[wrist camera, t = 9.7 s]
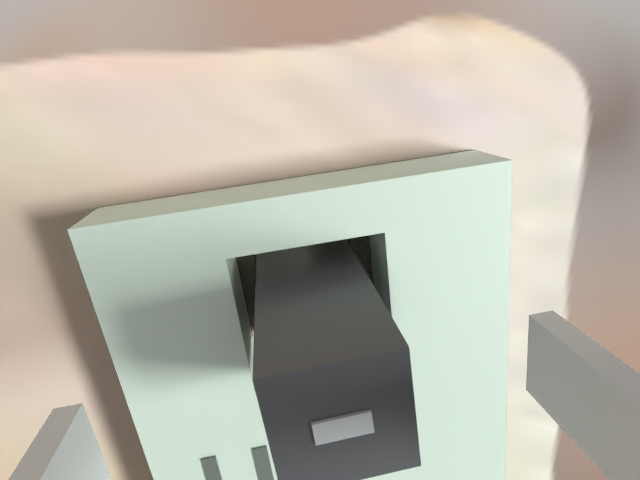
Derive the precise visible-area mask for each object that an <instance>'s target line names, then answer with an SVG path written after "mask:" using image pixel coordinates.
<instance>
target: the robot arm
mask: <svg viewBox="0 0 640 480" xmlns="http://www.w3.org/2000/svg"><path fill="white" fill-rule="evenodd" d="M526 390H527V391H528V392H529V393H530V394H531V395H532V396H533V397H534V399H535V400H536V401H537V402H538V403H539V404H540V405H541V406H542V407H543V408H544V409H545V410H546V412H547V413H548V414H549V415H550V416H551V417H552V418H553V419H554V420H555V421H556V422H557V424H558V425H559V426H560V427H561V428H562V429H563V430H564V431H565V432H566V433H567V434H568V435H569V436H570V437H571V439H572V440H573V441H574V442H575V443H576V444H577V445H578V446H579V447H580V449H581V450H582V451H583V452H584V453H585V454H586V455H587V456H588V457H589V458H590V459H591V461H592V462H593V463H594V464H595V465H596V466H597V467H598V468H599V469H600V470H601V471H602V472H603V474H604V475H605V476H606V477H607V478H608V479H609V480H640V374H639V373H638V372H636V371H635V370H633V369H632V368H631V367H629V366H628V365H627V364H625V363H624V362H622V361H621V360H620V359H618V358H617V357H616V356H614V355H613V354H612V353H610V352H609V351H607V350H606V349H605V348H603V347H602V346H600V345H599V344H598V343H596V342H595V341H594V340H592V339H591V338H590V337H588V336H587V335H585V334H584V333H582V332H581V331H580V330H579V329H577V328H576V327H574V326H573V325H572V324H570V323H569V322H568V321H566V320H565V319H563V318H562V317H561V316H559V315H558V314H557V313H555V312H554V311H548V312H543V313H538V314H533V315H529V331H528V356H527V381H526ZM9 480H111V476H110V473H109V471H108V468H107V466H106V463H105V460H104V458H103V455H102V453H101V450H100V448H99V445H98V442H97V440H96V437H95V435H94V432H93V429H92V427H91V424H90V422H89V419H88V417H87V414H86V411H85V409H84V406H83V404H82V403H81V404H76V405H71V406H66V407H61V408H56V409H53V410H52V412H51V414H50V415H49V417H48V418H47V420H46V421H45V423H44V425H43V426H42V428H41V429H40V431H39V432H38V434H37V436H36V437H35V439H34V440H33V442H32V444H31V445H30V447H29V448H28V450H27V451H26V453H25V455H24V456H23V458H22V459H21V461H20V462H19V464H18V466H17V467H16V469H15V470H14V472H13V473H12V475H11V477H10V478H9Z"/></svg>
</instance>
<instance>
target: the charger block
mask: <svg viewBox="0 0 640 480" xmlns="http://www.w3.org/2000/svg"><path fill="white" fill-rule="evenodd" d="M252 380H253V384H254V388H255V392H256V396H257V400H258V404H259V408H260V412H261V416H262V420H263V424H264V428H265V431H266V435H267V439H268V443H269V447H270V451H271V455H272V459H273V463H274V467H275V471H276V475H277V479H278V480H362V479H367V478H371V477H375V476H380V475H384V474H388V473H393V472H397V471H401V470H406V469H410V468H414V467H419V466H421V458H420V448H419V439H418V429H417V419H416V409H415V399H414V389H413V380H412V370H411V360H410V350H409V346H408V344H407V342H406V341H405V339H404V337H403V335H402V334H401V332H400V330H399V328H398V327H397V325H396V323H395V321H394V320H393V318H392V316H391V315H390V313H389V311H388V309H387V308H386V306H385V304H384V302H383V301H382V299H381V297H380V296H379V294H378V292H377V290H376V289H375V287H374V285H373V283H372V282H371V280H370V278H369V277H368V275H367V273H366V271H365V270H364V268H363V266H362V264H361V263H360V261H359V259H358V258H357V256H356V254H355V252H354V251H353V249H352V247H351V245H350V244H349V242H348V240H347V239H344V240H338V241H331V242H325V243H319V244H313V245H307V246H301V247H295V248H289V249H283V250H277V251H271V252H265V253H259V254H257V257H256V287H255V317H254V348H253V378H252Z"/></svg>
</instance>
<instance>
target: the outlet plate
mask: <svg viewBox="0 0 640 480" xmlns="http://www.w3.org/2000/svg"><path fill="white" fill-rule="evenodd" d="M511 188H512V160H510V159H506V158H503V157H499V156H495V155H492V154H488V153H484V152H481V151H477V150H470V151H464V152H457V153H451V154H444V155H438V156H431V157H425V158H418V159H412V160H405V161H399V162H392V163H386V164H379V165H373V166H366V167H360V168H353V169H347V170H340V171H334V172H327V173H321V174H314V175H308V176H301V177H294V178H288V179H281V180H275V181H268V182H262V183H255V184H249V185H242V186H236V187H229V188H223V189H216V190H210V191H203V192H197V193H190V194H184V195H177V196H171V197H164V198H158V199H151V200H145V201H138V202H132V203H125V204H119V205H112V206H106V207H99V208H97V209H96V210H94V211H93V212H91V213H90V214H89V215H87V216H86V217H84V218H83V219H82V220H80V221H79V222H77V223H76V224H75V225H73V226H72V227H70V228H69V229H67V231H68V234H69V236H70V239H71V242H72V245H73V248H74V251H75V254H76V257H77V260H78V262H79V265H80V268H81V271H82V274H83V277H84V280H85V283H86V286H87V289H88V291H89V294H90V297H91V300H92V303H93V306H94V309H95V312H96V315H97V317H98V320H99V323H100V326H101V329H102V332H103V335H104V338H105V341H106V344H107V346H108V349H109V352H110V355H111V358H112V361H113V364H114V367H115V370H116V372H117V375H118V378H119V381H120V384H121V387H122V390H123V393H124V396H125V399H126V401H127V404H128V407H129V410H130V413H131V416H132V419H133V422H134V425H135V427H136V430H137V433H138V436H139V439H140V442H141V445H142V448H143V451H144V454H145V456H146V459H147V462H148V465H149V468H150V471H151V474H152V477H153V480H278V479H277V475H276V471H275V467H274V463H273V459H272V455H271V451H270V447H269V443H268V439H267V435H266V431H265V428H264V424H263V420H262V416H261V412H260V408H259V404H258V400H257V396H256V392H255V388H254V384H253V380H252V378H253V348H254V341H253V336H252V331H251V327H250V322H249V317H248V312H247V308H246V303H245V298H244V293H243V289H242V284H241V279H240V274H239V270H238V265H237V260H236V257H241V256H247V255H253V254H259V253H265V252H271V251H277V250H283V249H289V248H295V247H301V246H307V245H313V244H319V243H325V242H331V241H338V240H344V239H350V238H356V237H362V236H368V235H369V241H370V251H371V261H372V272H373V282H374V287H375V289H376V290H377V292H378V294H379V296H380V297H381V299H382V301H383V302H384V304H385V306H386V308H387V309H388V311H389V313H390V315H391V316H392V318H393V320H394V321H395V323H396V325H397V327H398V328H399V330H400V332H401V334H402V335H403V337H404V339H405V341H406V342H407V344H408V346H409V350H410V360H411V370H412V380H413V389H414V399H415V409H416V419H417V429H418V439H419V448H420V458H421V466H419V467H414V468H410V469H406V470H401V471H397V472H393V473H388V474H384V475H380V476H375V477H371V478H367V479H362V480H505V466H506V420H507V374H508V327H509V281H510V235H511Z"/></svg>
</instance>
